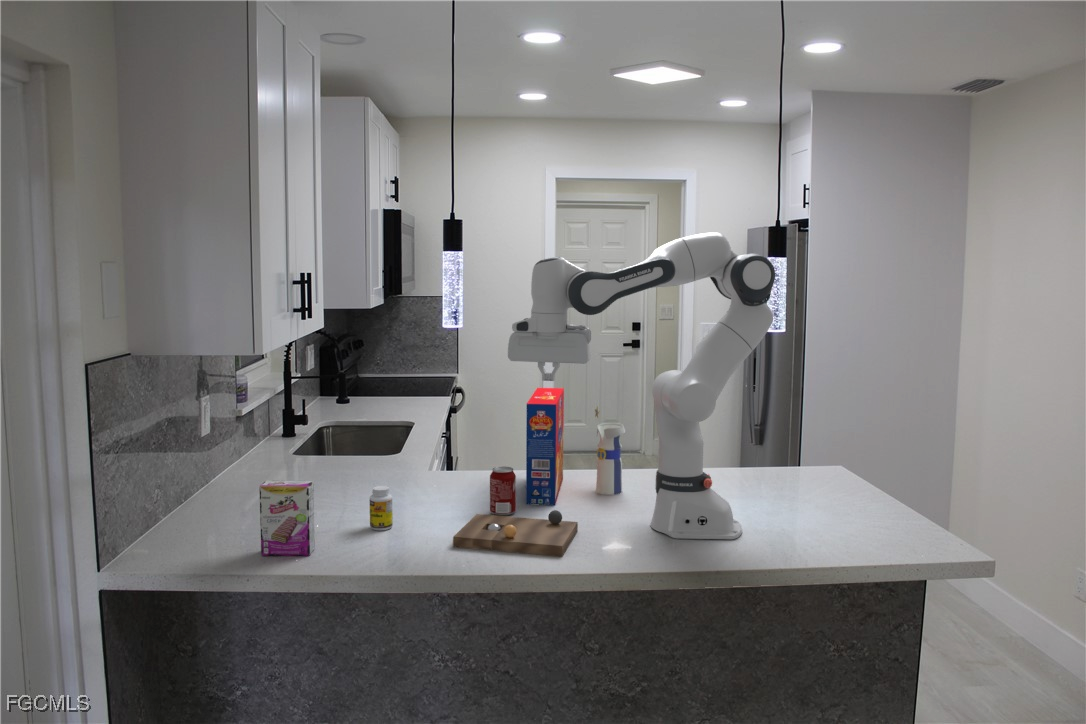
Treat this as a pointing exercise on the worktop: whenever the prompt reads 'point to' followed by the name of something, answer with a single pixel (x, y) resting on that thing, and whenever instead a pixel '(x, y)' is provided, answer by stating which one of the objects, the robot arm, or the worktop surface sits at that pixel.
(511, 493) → the soda can
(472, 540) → the board
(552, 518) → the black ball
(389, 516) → the supplement bottle
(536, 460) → the pasta box
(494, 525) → the steel ball
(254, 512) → the worktop surface
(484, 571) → the worktop surface
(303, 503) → the candy bar box
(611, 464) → the white tall bottle
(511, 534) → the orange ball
